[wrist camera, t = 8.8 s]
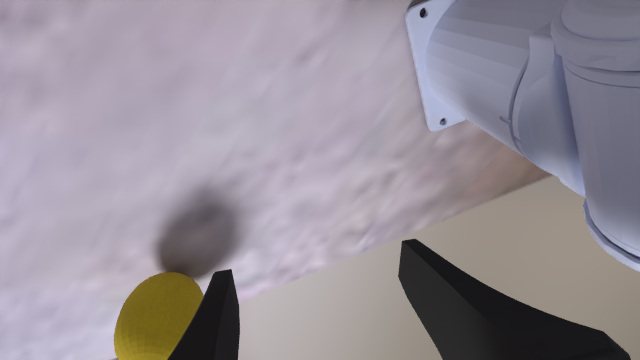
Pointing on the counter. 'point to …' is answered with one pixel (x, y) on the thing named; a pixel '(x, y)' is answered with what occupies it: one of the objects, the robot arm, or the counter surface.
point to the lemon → (156, 317)
